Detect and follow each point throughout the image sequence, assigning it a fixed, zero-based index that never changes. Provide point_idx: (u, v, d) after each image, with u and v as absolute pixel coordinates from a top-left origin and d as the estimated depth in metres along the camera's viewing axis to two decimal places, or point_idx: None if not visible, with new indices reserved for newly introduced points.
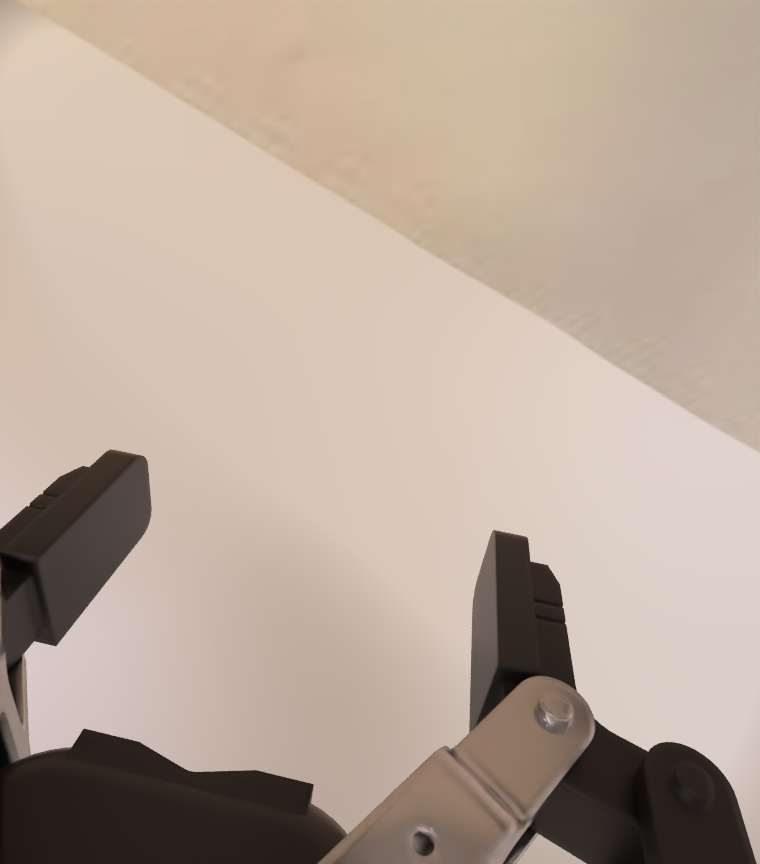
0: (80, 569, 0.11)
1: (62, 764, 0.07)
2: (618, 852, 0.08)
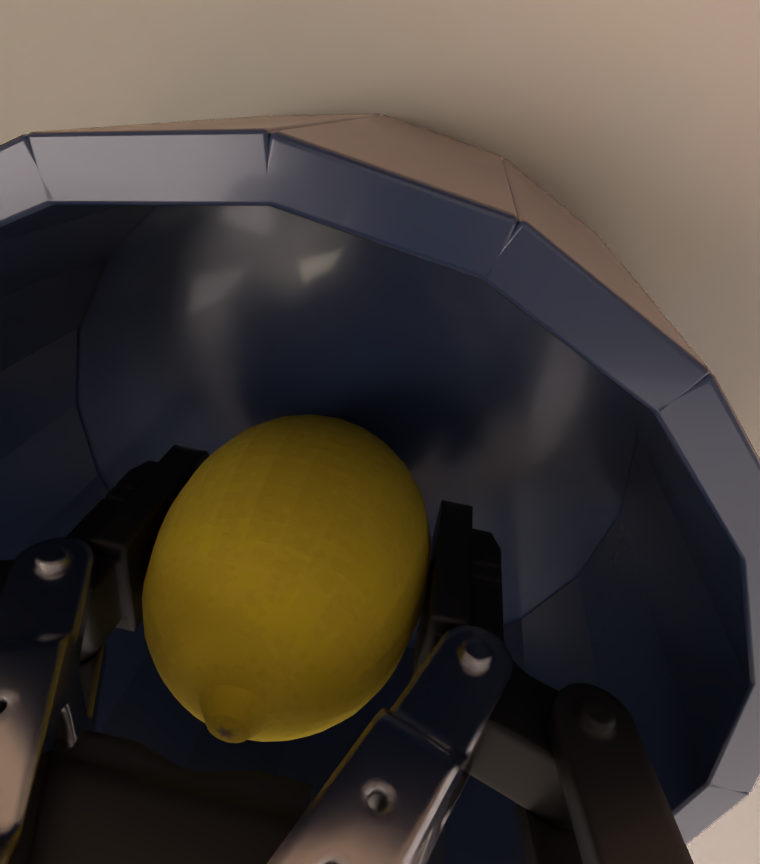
0: None
1: (62, 764, 0.07)
2: (532, 783, 0.09)
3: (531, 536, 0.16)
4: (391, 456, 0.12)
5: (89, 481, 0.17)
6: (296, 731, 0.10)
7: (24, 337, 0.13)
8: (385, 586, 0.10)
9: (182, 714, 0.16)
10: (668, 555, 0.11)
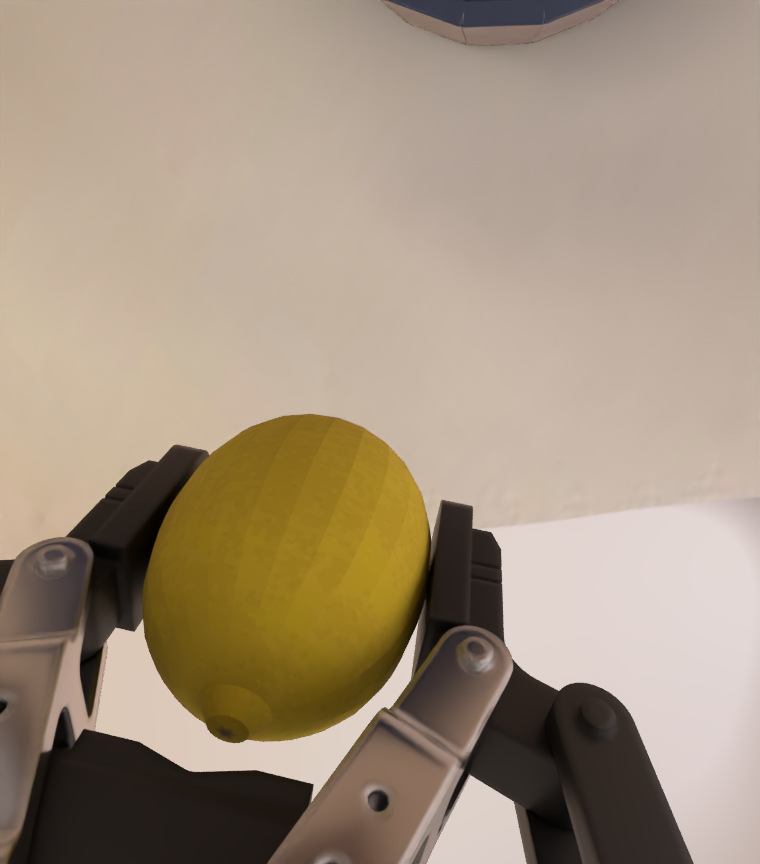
0: None
1: (62, 764, 0.07)
2: (532, 783, 0.09)
3: None
4: (391, 456, 0.12)
5: None
6: (296, 731, 0.10)
7: None
8: (385, 585, 0.10)
9: None
10: None
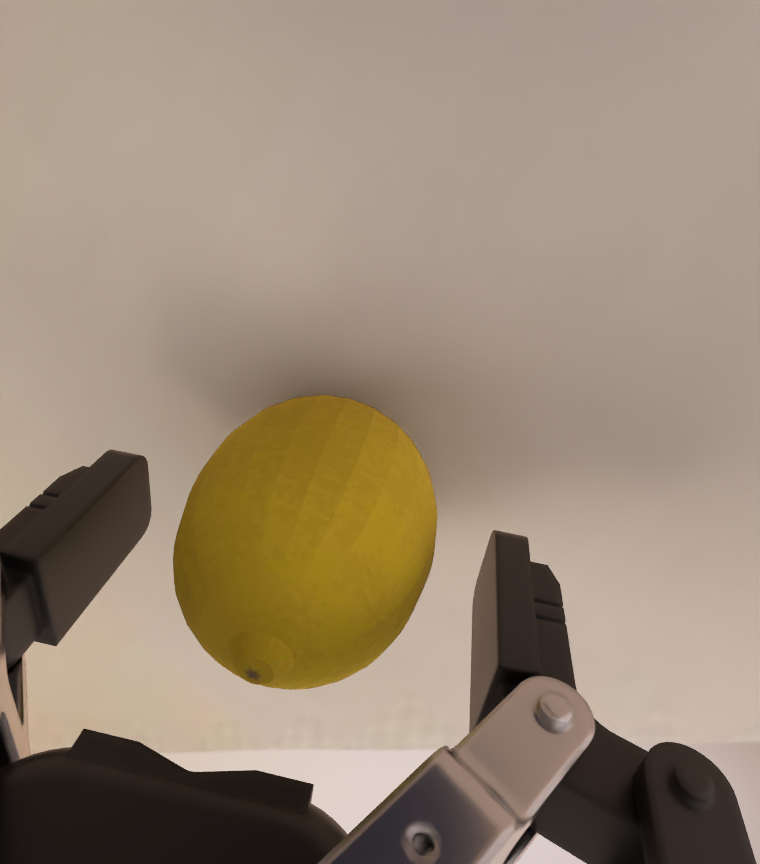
0: (80, 569, 0.11)
1: (62, 764, 0.07)
2: (618, 852, 0.08)
3: None
4: (400, 433, 0.13)
5: None
6: (315, 677, 0.11)
7: None
8: (396, 546, 0.11)
9: None
10: None
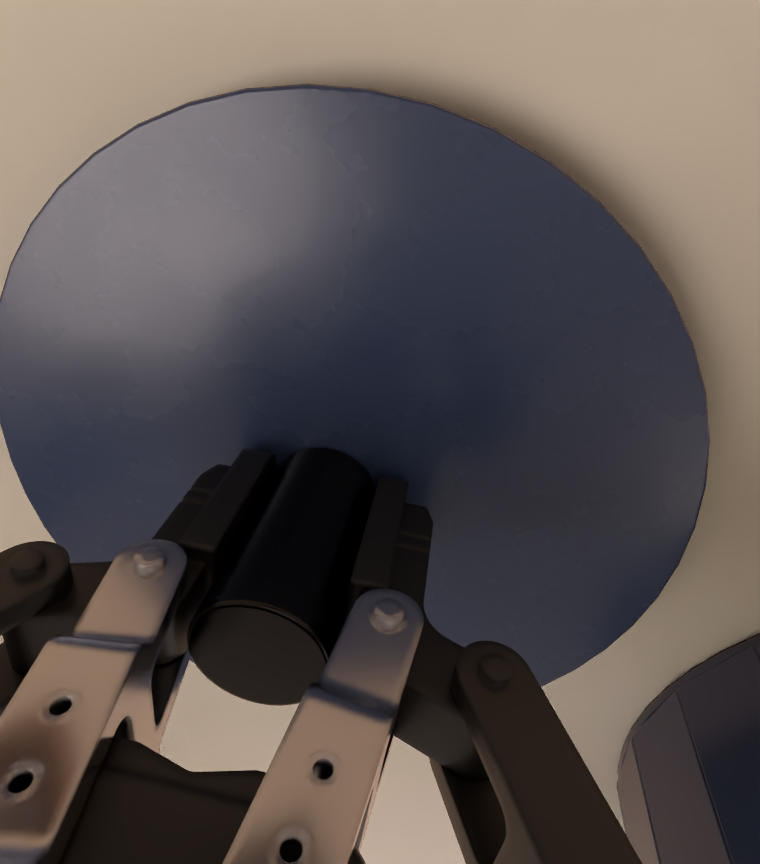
0: None
1: None
2: (438, 735, 0.09)
3: None
4: None
5: None
6: None
7: None
8: None
9: None
10: None
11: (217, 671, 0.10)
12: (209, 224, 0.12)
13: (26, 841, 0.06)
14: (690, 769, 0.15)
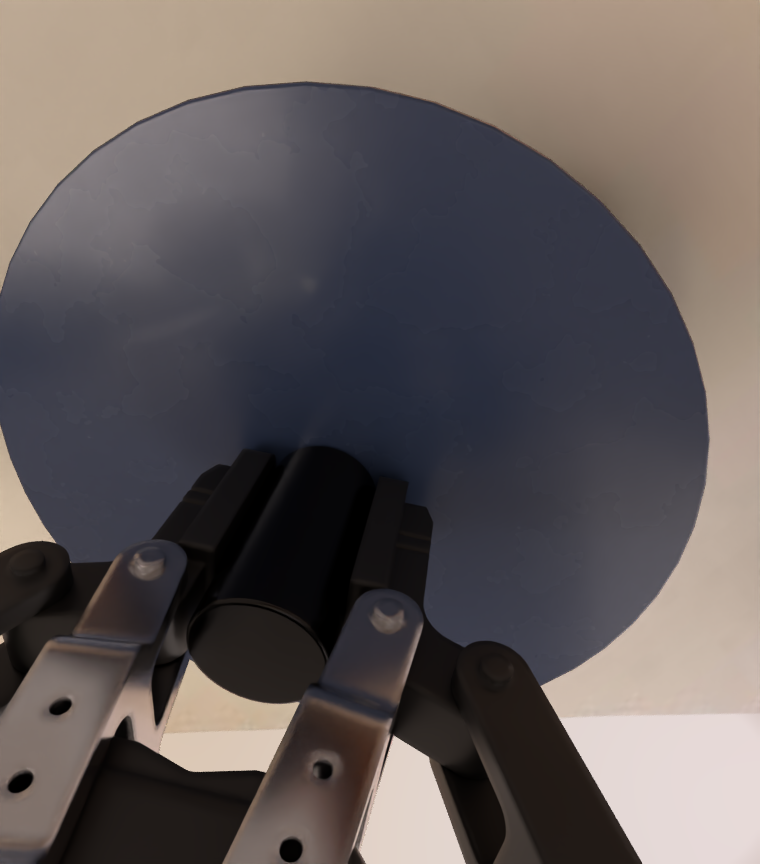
0: None
1: None
2: (438, 735, 0.09)
3: None
4: None
5: None
6: None
7: None
8: None
9: None
10: None
11: (216, 669, 0.10)
12: (208, 222, 0.12)
13: (26, 841, 0.06)
14: None
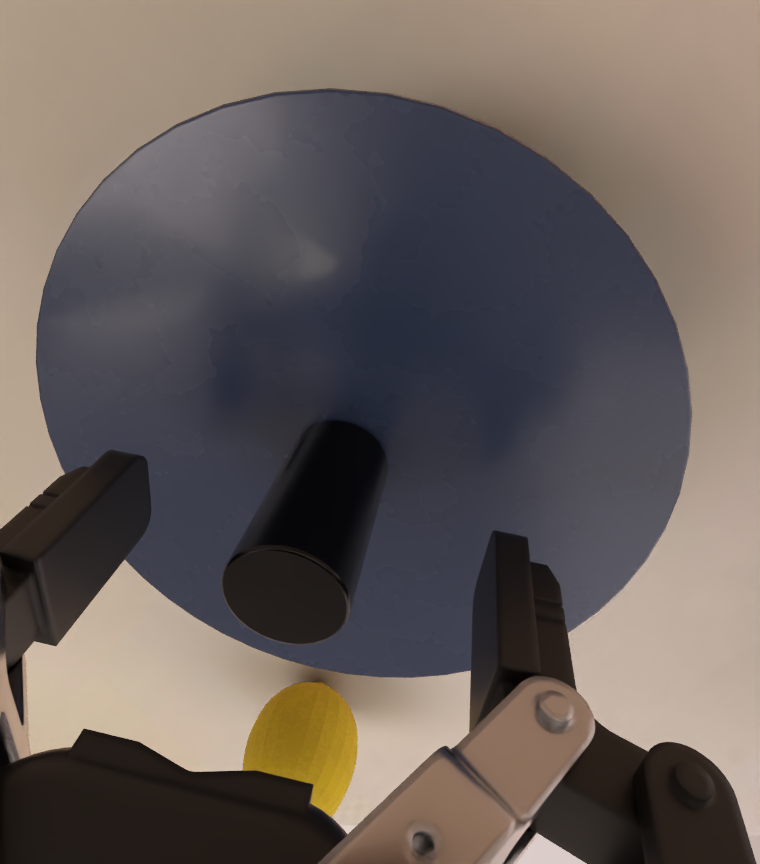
0: (80, 569, 0.11)
1: (62, 764, 0.07)
2: (618, 852, 0.08)
3: None
4: (340, 712, 0.29)
5: None
6: None
7: None
8: (333, 780, 0.27)
9: None
10: None
11: (247, 612, 0.12)
12: (239, 214, 0.13)
13: None
14: None
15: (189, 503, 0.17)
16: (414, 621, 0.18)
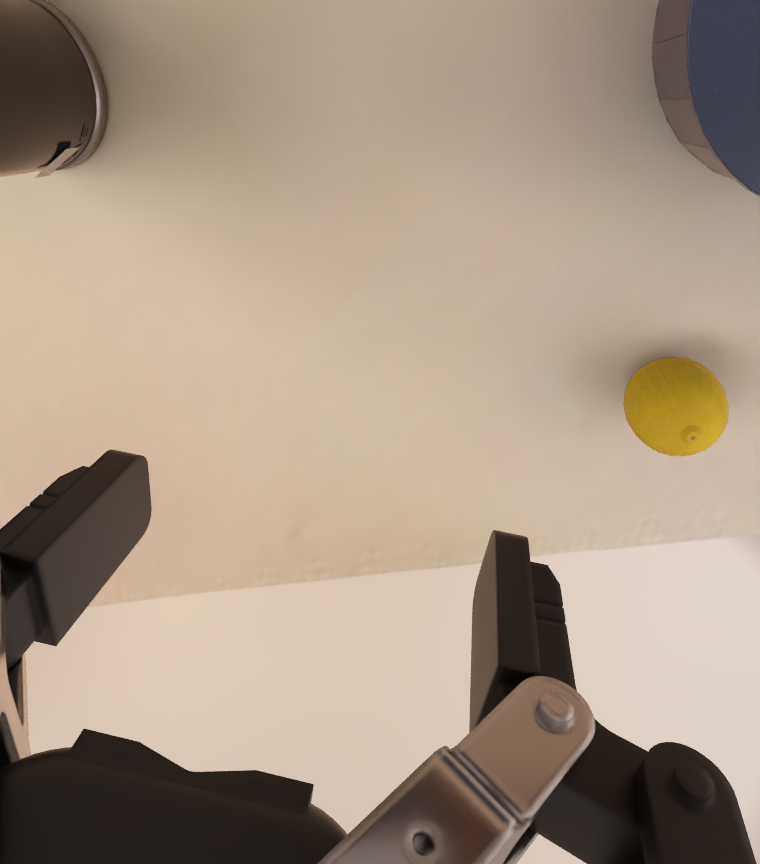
0: (80, 569, 0.11)
1: (62, 764, 0.07)
2: (618, 852, 0.08)
3: None
4: None
5: None
6: (703, 444, 0.33)
7: None
8: (726, 403, 0.33)
9: None
10: None
11: None
12: None
13: None
14: None
15: None
16: None
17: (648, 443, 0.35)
